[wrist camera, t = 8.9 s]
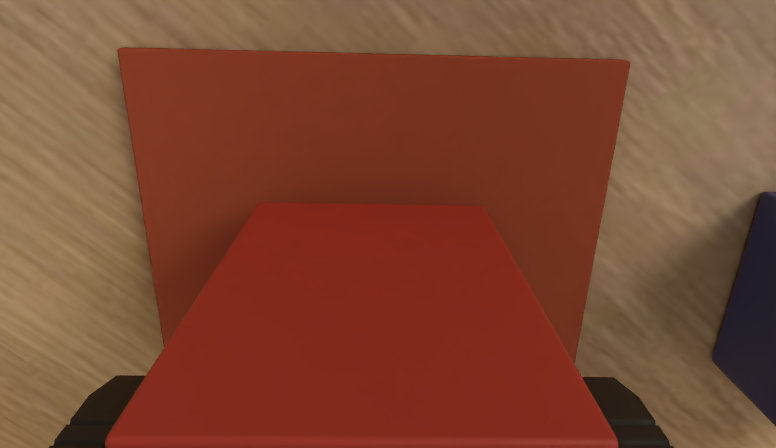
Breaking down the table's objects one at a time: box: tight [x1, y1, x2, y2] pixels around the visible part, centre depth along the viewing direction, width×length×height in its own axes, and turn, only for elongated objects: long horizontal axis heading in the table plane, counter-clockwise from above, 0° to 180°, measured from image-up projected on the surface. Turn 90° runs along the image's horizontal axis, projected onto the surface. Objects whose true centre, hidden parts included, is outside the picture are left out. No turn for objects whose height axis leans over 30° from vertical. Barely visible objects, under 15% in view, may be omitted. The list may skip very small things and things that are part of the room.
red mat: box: [118, 47, 630, 363], centre depth 13 cm, size 11×11×1 cm
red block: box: [105, 202, 618, 448], centre depth 9 cm, size 5×5×7 cm
